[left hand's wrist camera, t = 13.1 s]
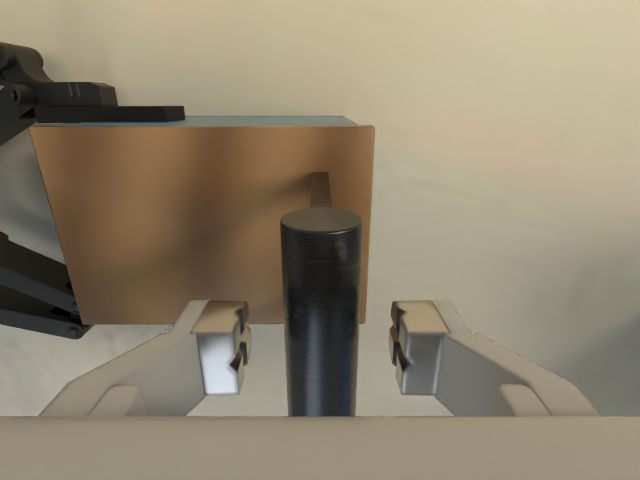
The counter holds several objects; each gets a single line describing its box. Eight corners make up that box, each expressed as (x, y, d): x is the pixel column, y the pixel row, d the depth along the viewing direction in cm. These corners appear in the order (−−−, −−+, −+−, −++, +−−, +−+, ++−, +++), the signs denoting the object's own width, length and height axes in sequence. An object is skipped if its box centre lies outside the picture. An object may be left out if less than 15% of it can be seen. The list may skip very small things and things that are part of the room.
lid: (372, 124, 16) (434, 152, 7) (363, 314, 19) (398, 482, 11) (43, 125, 16) (-279, 153, 7) (92, 314, 19) (-88, 484, 11)
